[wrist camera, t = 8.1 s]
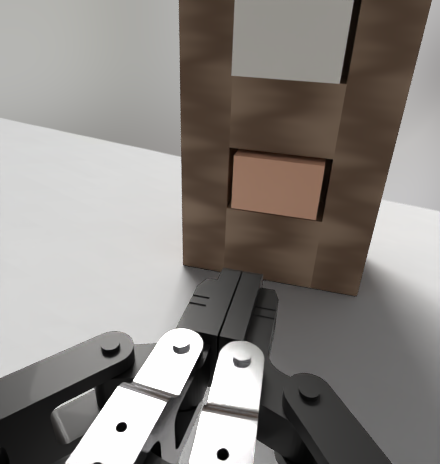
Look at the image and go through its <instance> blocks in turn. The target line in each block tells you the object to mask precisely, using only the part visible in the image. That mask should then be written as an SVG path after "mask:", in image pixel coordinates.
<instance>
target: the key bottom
mask: <svg viewBox="0 0 440 464" xmlns="http://www.w3.org/2000/svg"><path fill="white" fill-rule="evenodd" d="M325 161H326V158H317V157H308V156H300V155H291V154H282V153H273V152H265V151H256V150H247V149H238V151H237V152H236V153H235V155H234V163H233V182H232V202H231V208H235V209H242V210H249V211H256V212H263V213H269V214H276V215H283V216H290V217H297V218H304V219H311V220H316V216H317V210H318V204H319V198H320V192H321V187H322V181H323V175H324V169H325Z"/></svg>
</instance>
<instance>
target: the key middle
mask: <svg viewBox="0 0 440 464" xmlns="http://www.w3.org/2000/svg"><path fill="white" fill-rule="evenodd" d="M353 3H354V0H235V4H234V27H233V50H232V73H231V76H242V77H255V78H269V79H282V80H295V81H308V82H321V83H334V84H340V79H341V73H342V67H343V61H344V55H345V50H346V44H347V38H348V32H349V26H350V20H351V14H352V9H353Z"/></svg>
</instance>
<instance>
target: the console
mask: <svg viewBox="0 0 440 464" xmlns="http://www.w3.org/2000/svg"><path fill="white" fill-rule="evenodd" d="M431 2H432V0H354V3H353V9H352V14H351V20H350V26H349V32H348V38H347V44H346V50H345V55H344V61H343V67H342V73H341V79H340V84H334V83H321V82H308V81H295V80H282V79H269V78H255V77H242V76H231V73H232V50H233V27H234V4H235V0H179V32H180V34H179V36H180V99H181V164H182V228H183V265H186V266H191V267H197V268H203V269H208V270H214V271H219V272H221V271H222V269H223V268H229V269H235V270H241V271H247V272H253V273H259V274H263V279H264V280H269V281H275V282H280V283H286V284H291V285H297V286H302V287H308V288H313V289H319V290H325V291H330V292H336V293H341V294H347V295H352V296H357V293H358V289H359V285H360V282H361V278H362V274H363V270H364V266H365V262H366V258H367V254H368V250H369V246H370V242H371V238H372V234H373V230H374V226H375V222H376V219H377V215H378V211H379V207H380V203H381V199H382V195H383V191H384V187H385V183H386V179H387V175H388V171H389V167H390V163H391V159H392V155H393V152H394V147H395V144H396V140H397V136H398V132H399V128H400V124H401V120H402V116H403V112H404V108H405V104H406V100H407V96H408V92H409V88H410V85H411V81H412V76H413V73H414V69H415V65H416V61H417V57H418V53H419V49H420V45H421V41H422V37H423V33H424V29H425V25H426V22H427V18H428V13H429V9H430V6H431ZM238 149H247V150H256V151H265V152H273V153H282V154H291V155H300V156H308V157H317V158H326V161H325V169H324V175H323V181H322V187H321V192H320V198H319V204H318V210H317V216H316V220H311V219H304V218H297V217H290V216H283V215H276V214H269V213H263V212H256V211H249V210H242V209H235V208H231V202H232V182H233V163H234V155H235V153H236V152H237V151H238Z"/></svg>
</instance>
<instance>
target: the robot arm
mask: <svg viewBox="0 0 440 464" xmlns="http://www.w3.org/2000/svg"><path fill="white" fill-rule="evenodd" d="M262 283H263V274H259V273H253V272H247V271H241V270H235V269H229V268H223V269H222V271H221V273H220V275H219V278H218V280H215V279H209V278H207V279H206V280H204V281H203V282H202V283H200V284H199V285H198V286H197V288H196V290H195V292H194V294H193V296H192V298H191V300H190V303H189V304H188V306H187V308H186V310H185V312H184V314H183V316H182V318H181V319H180V321H179V323H178V325H177V327H176V329H175V330H172V331H170V332H168V333H166V334H165V335H164V336H163V337H162V338H161V340H160V341H159V342H158V343H153V344H136V345H134V343H133V340H132V338H131V337H130V336H129V335H127V334H126V333H123V332H118V331H112V332H106V333H103V334H101V335H99V336H96V337H94V338H92V339H89V340H87V341H85V342H82V343H80V344H78V345H76V346H73V347H71V348H69V349H66V350H64V351H62V352H59V353H57V354H55V355H53V356H50V357H48V358H46V359H43V360H41V361H39V362H36V363H34V364H32V365H30V366H27V367H25V368H23V369H20V370H18V371H16V372H13V373H11V374H9V375H7V376H4V377H2V378H0V464H178V461H179V458H180V455H181V453H182V451H183V448H184V446H185V444H186V442H187V439H188V437H189V435H190V433H191V430H192V428H193V426H194V423H195V421H196V419H197V417H198V414H199V412H200V410H201V407H202V399H203V397H204V394H205V391H206V388H207V387H211V390H210V394H209V398H208V402H207V405H204V407H203V409H202V413H201V417H200V421H199V425H198V429H197V433H196V437H195V441H194V445H193V449H192V453H191V457H190V461H189V464H253V461H254V451H255V442H256V439H257V440H258V441H260V442H262V443H263V444H265V445H266V446H268V447H269V448H271V449H273V450H274V454H275V457H276V460H277V462H278V464H392V463H391V462H390V460H389V459H388V458H387V457H386V455H385V454H384V453H383V452H382V450H381V449H380V448H379V447H378V445H377V444H376V443H375V442H374V440H373V439H372V438H371V437H370V435H369V434H368V433H367V432H366V430H365V429H364V428H363V427H362V426H361V424H360V423H359V422H358V421H357V419H356V418H355V417H354V416H353V414H352V413H351V412H350V411H349V409H348V408H347V407H346V406H345V404H344V403H343V402H342V401H341V399H340V398H339V397H338V396H337V394H336V393H335V392H334V391H333V389H332V388H331V387H330V386H329V385H328V384H327V382H325V381H324V380H323V379H321V378H320V377H318V376H316V375H313V374H308V373H299V374H295V375H293V376H291V377H289V376H287V375H285V374H283V373H282V372H280V371H279V370H277V369H276V368H275V367H274V366H273V365H272V363H271V362H270V360H269V355H270V350H271V346H272V341H273V336H274V330H275V323H276V315H277V307H278V298H277V295H276V293H275V290H271V289H266V288H262ZM92 388H94V389H95V390H93V391H91V392H89V393H87V394H85V395H83V396H81V397H79V398H77V399H75V400H73V401H71V402H69V403H67V404H65V405H63V406H61V407H59V408H57V409H55V408H56V407H57V406H59V405H60V404H62V403H64V402H66V401H68V400H70V399H72V398H74V397H76V396H78V395H80V394H82V393H84V392H86V391H88V390H90V389H92ZM54 409H55V410H54Z"/></svg>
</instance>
